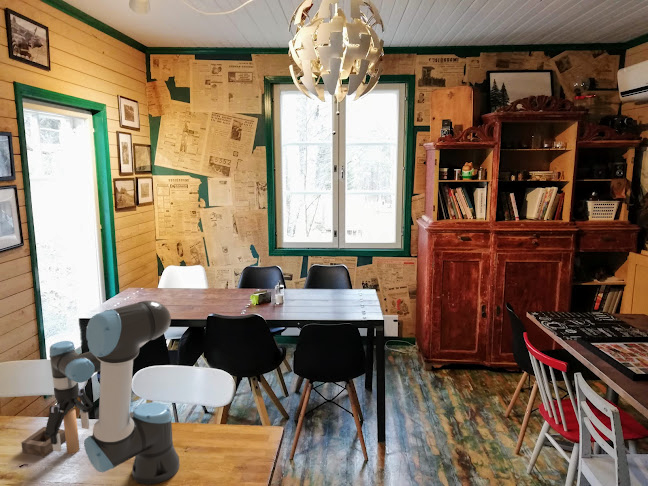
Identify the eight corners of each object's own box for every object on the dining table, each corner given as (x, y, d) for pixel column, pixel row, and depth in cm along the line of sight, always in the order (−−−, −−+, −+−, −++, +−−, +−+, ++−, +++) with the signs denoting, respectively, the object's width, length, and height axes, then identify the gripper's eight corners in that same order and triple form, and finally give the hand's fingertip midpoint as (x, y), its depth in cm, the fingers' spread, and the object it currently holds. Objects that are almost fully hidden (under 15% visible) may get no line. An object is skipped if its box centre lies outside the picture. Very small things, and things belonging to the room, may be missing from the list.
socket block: (67, 439, 172) (66, 430, 171) (46, 456, 162) (44, 446, 161) (45, 436, 174) (43, 426, 173) (22, 452, 164) (21, 442, 164)
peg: (82, 448, 167) (77, 408, 164) (74, 455, 163) (69, 414, 160) (72, 446, 168) (68, 407, 165) (64, 453, 164) (59, 413, 161)
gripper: (82, 367, 173) (87, 418, 177) (27, 401, 149) (34, 459, 153) (99, 369, 172) (104, 420, 176) (46, 404, 148) (53, 462, 152)
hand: (72, 439), depth 165 cm, fingers open, 13 cm apart
